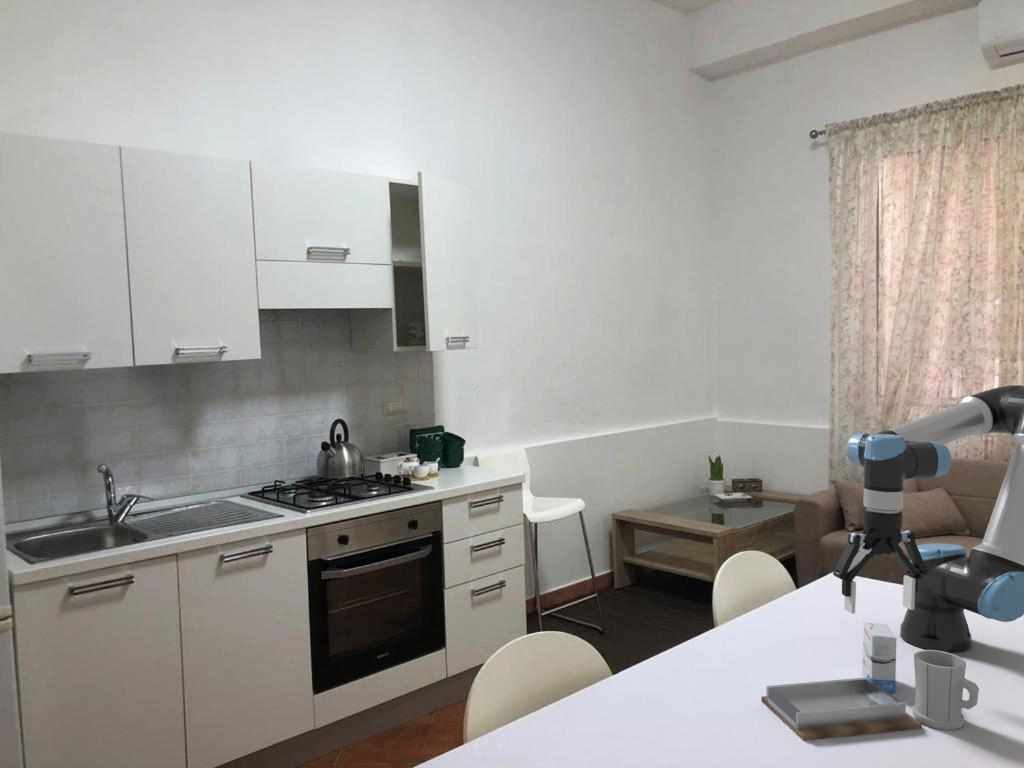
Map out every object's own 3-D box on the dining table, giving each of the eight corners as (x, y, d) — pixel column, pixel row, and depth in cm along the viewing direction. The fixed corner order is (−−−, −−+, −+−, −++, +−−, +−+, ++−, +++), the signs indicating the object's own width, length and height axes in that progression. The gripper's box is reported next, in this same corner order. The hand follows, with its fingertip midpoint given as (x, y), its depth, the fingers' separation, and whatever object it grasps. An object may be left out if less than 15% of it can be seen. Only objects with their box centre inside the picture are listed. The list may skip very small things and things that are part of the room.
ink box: (896, 693, 168) (897, 637, 167) (870, 691, 169) (871, 635, 168) (885, 676, 176) (887, 622, 176) (861, 674, 177) (862, 621, 177)
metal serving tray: (866, 691, 167) (867, 677, 167) (905, 719, 155) (905, 703, 155) (766, 700, 163) (766, 686, 163) (797, 730, 151) (798, 714, 151)
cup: (969, 714, 159) (971, 653, 158) (978, 736, 150) (981, 672, 150) (909, 706, 162) (910, 647, 162) (915, 727, 154) (917, 665, 153)
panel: (869, 691, 169) (869, 686, 169) (921, 728, 153) (921, 723, 153) (761, 701, 165) (761, 696, 165) (803, 740, 149) (803, 735, 149)
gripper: (924, 503, 176) (920, 600, 178) (817, 507, 172) (814, 606, 173) (948, 511, 169) (944, 612, 170) (838, 515, 164) (834, 619, 166)
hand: (879, 609), depth 172 cm, fingers open, 13 cm apart
